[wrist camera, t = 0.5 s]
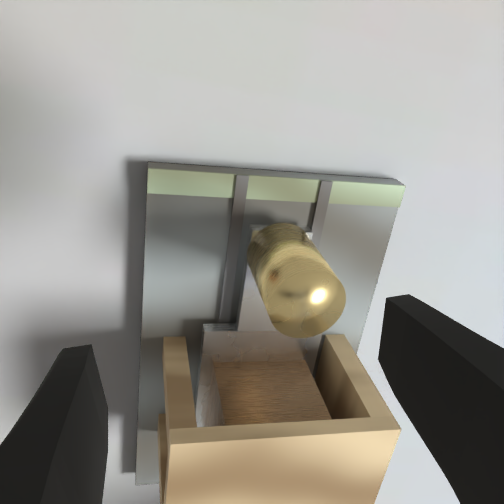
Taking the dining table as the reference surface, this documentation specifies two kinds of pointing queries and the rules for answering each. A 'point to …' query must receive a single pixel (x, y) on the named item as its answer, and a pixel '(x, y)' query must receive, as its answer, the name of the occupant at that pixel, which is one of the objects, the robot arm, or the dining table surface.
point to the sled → (270, 334)
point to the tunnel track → (225, 311)
